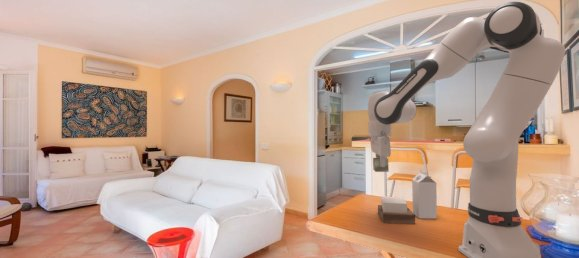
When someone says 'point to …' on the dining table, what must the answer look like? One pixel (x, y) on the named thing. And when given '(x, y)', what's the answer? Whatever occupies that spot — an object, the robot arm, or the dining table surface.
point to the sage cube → (378, 168)
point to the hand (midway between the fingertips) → (380, 165)
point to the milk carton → (424, 196)
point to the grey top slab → (394, 204)
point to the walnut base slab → (396, 217)
